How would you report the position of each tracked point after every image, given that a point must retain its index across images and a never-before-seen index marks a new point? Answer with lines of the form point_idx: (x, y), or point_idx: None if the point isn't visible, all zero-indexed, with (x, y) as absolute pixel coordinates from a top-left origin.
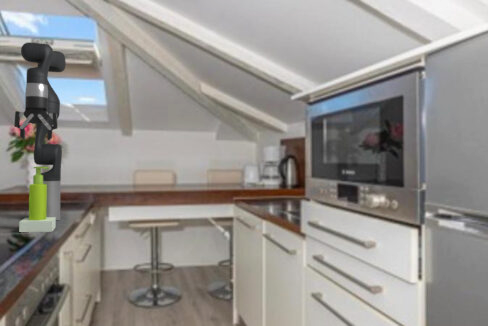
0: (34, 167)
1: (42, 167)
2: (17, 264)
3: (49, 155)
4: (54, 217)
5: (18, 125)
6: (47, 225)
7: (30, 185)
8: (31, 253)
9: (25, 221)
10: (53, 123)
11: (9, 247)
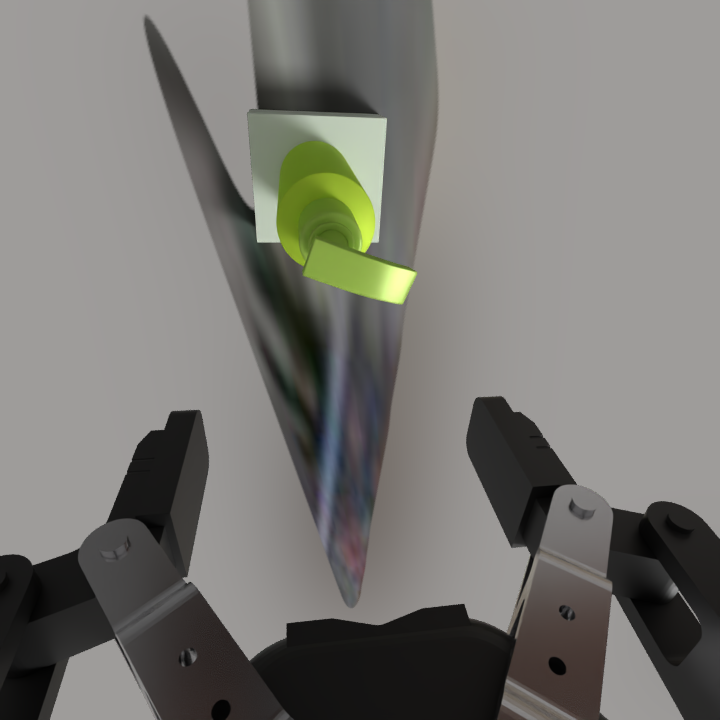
0: (309, 277)
1: (368, 294)
2: (340, 538)
3: None
4: (382, 131)
5: (65, 643)
6: None
7: (288, 253)
8: (350, 481)
9: (278, 237)
10: (652, 651)
11: (292, 430)
